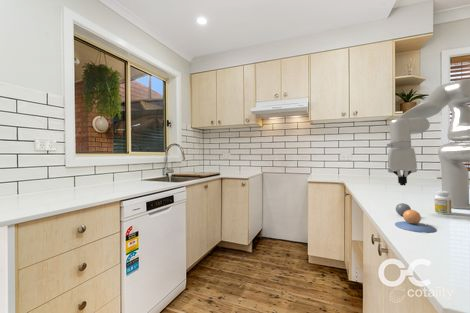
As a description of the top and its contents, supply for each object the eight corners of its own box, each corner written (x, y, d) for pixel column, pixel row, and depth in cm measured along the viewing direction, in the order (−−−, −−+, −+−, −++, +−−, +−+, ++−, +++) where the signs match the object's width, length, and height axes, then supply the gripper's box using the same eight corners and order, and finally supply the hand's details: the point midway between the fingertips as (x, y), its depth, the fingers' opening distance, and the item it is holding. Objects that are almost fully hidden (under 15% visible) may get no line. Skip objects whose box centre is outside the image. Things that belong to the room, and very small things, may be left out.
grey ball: (394, 202, 96) (396, 215, 94) (410, 202, 93) (413, 215, 91) (394, 203, 100) (396, 216, 98) (409, 203, 97) (411, 216, 95)
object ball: (402, 206, 87) (405, 217, 83) (420, 207, 84) (423, 218, 80) (401, 215, 90) (403, 226, 86) (418, 216, 87) (421, 227, 83)
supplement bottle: (444, 211, 100) (443, 190, 99) (455, 214, 94) (454, 192, 94) (431, 211, 100) (431, 190, 100) (441, 214, 95) (441, 192, 95)
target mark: (392, 220, 90) (392, 220, 90) (430, 224, 84) (430, 223, 84) (398, 230, 79) (398, 229, 79) (441, 234, 73) (441, 234, 73)
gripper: (382, 146, 100) (384, 186, 100) (424, 144, 93) (426, 186, 93) (380, 146, 107) (382, 183, 107) (419, 144, 100) (421, 184, 100)
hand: (402, 184), depth 100 cm, fingers closed
